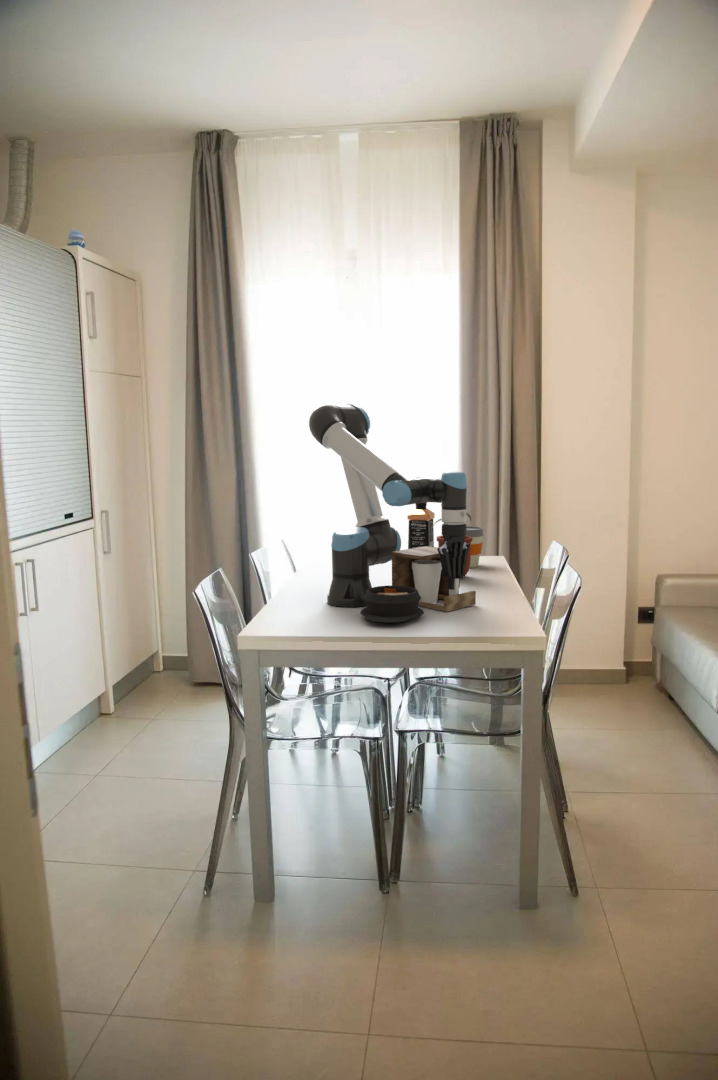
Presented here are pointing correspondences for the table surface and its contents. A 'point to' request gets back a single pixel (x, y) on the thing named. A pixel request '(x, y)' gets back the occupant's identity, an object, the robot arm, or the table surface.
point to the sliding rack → (453, 601)
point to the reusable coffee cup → (475, 544)
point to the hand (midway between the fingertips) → (453, 599)
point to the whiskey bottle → (420, 527)
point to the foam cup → (427, 579)
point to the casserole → (391, 604)
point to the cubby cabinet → (403, 566)
